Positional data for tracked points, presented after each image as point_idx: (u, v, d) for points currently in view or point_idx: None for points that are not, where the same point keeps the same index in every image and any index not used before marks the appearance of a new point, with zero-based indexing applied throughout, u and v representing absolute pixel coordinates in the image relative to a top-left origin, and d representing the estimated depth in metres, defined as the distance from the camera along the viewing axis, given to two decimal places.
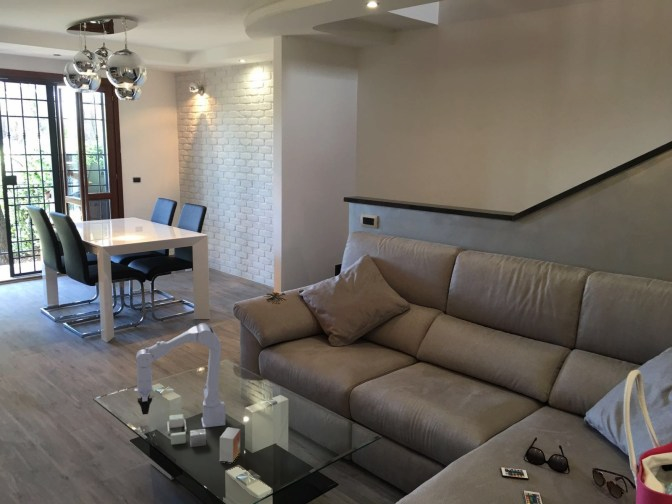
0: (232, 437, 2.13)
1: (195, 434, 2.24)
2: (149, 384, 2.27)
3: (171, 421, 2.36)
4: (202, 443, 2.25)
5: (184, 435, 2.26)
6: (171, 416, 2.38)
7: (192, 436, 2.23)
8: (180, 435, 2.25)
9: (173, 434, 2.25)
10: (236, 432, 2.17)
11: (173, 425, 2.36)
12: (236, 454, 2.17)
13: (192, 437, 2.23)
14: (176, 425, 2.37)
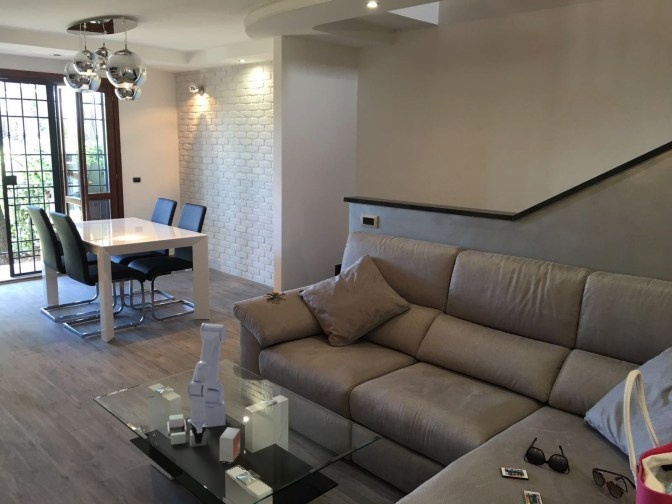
0: (232, 437, 2.13)
1: None
2: (203, 415, 2.22)
3: (171, 421, 2.36)
4: (202, 443, 2.25)
5: (184, 435, 2.26)
6: (171, 416, 2.38)
7: (192, 436, 2.23)
8: (180, 435, 2.25)
9: (173, 434, 2.25)
10: (236, 432, 2.17)
11: (173, 425, 2.36)
12: (236, 454, 2.17)
13: (192, 437, 2.23)
14: (176, 425, 2.37)
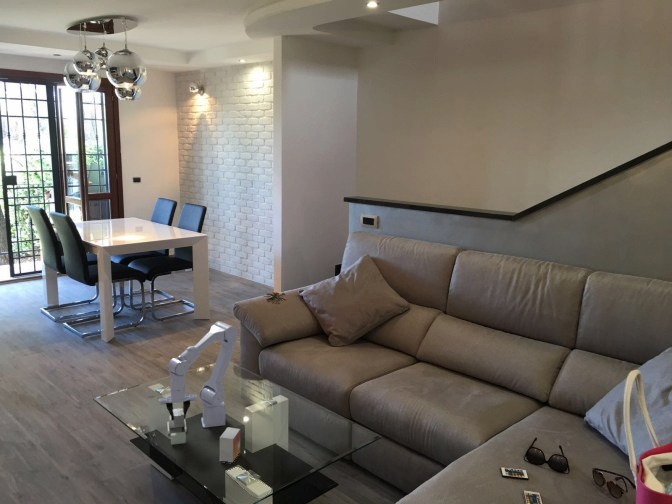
0: (232, 437, 2.13)
1: (174, 411, 2.28)
2: (172, 394, 2.23)
3: (171, 421, 2.36)
4: (173, 423, 2.26)
5: (184, 435, 2.26)
6: None
7: None
8: (180, 435, 2.25)
9: (173, 434, 2.25)
10: (236, 432, 2.17)
11: (173, 425, 2.36)
12: (236, 454, 2.17)
13: None
14: None
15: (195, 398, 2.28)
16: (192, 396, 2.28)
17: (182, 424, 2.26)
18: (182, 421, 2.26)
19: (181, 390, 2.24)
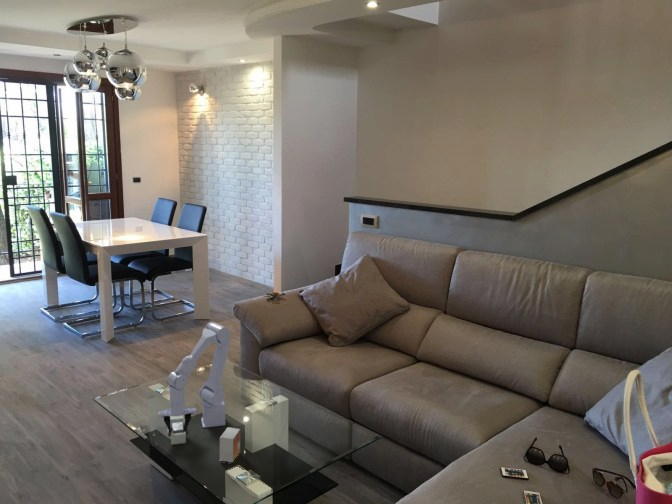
0: (232, 437, 2.13)
1: (173, 425, 2.30)
2: (172, 407, 2.25)
3: (171, 421, 2.36)
4: None
5: (184, 435, 2.26)
6: (171, 416, 2.38)
7: (172, 424, 2.31)
8: (180, 435, 2.25)
9: (173, 434, 2.25)
10: (236, 432, 2.17)
11: None
12: (236, 454, 2.17)
13: (172, 425, 2.31)
14: None
15: (194, 412, 2.29)
16: (191, 409, 2.30)
17: None
18: None
19: (180, 404, 2.25)
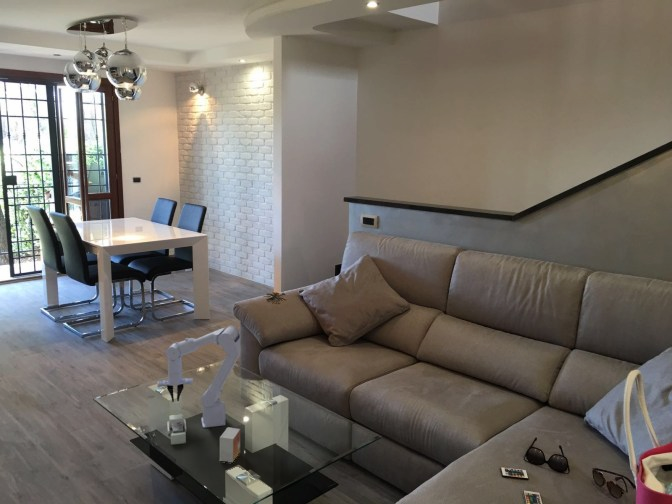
0: (232, 437, 2.13)
1: (174, 425, 2.30)
2: (170, 377, 2.38)
3: (171, 421, 2.36)
4: None
5: (184, 435, 2.26)
6: (171, 416, 2.38)
7: (172, 424, 2.31)
8: (180, 435, 2.25)
9: (173, 434, 2.25)
10: (236, 432, 2.17)
11: None
12: (236, 454, 2.17)
13: (172, 425, 2.31)
14: None
15: (191, 381, 2.42)
16: (188, 380, 2.43)
17: None
18: None
19: (178, 373, 2.38)
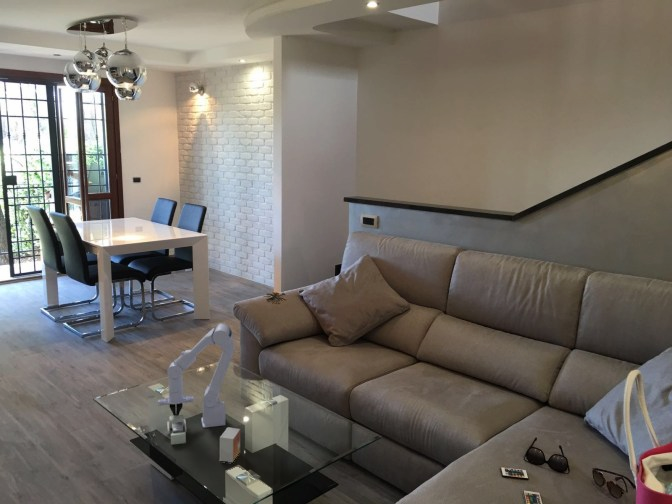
0: (232, 437, 2.13)
1: (173, 425, 2.30)
2: (170, 395, 2.36)
3: (171, 422, 2.35)
4: None
5: (184, 435, 2.26)
6: (171, 417, 2.37)
7: (172, 424, 2.31)
8: (180, 435, 2.25)
9: (173, 434, 2.25)
10: (236, 432, 2.17)
11: None
12: (236, 454, 2.17)
13: (172, 425, 2.31)
14: None
15: (192, 400, 2.40)
16: (189, 398, 2.41)
17: None
18: None
19: (178, 392, 2.36)
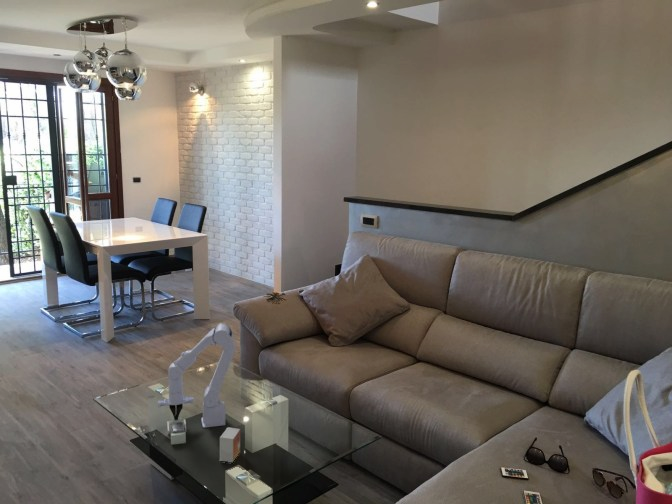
0: (232, 437, 2.13)
1: (174, 425, 2.30)
2: (170, 396, 2.35)
3: None
4: None
5: (184, 435, 2.26)
6: (172, 421, 2.34)
7: (172, 425, 2.31)
8: (180, 435, 2.25)
9: (173, 434, 2.25)
10: (236, 432, 2.17)
11: None
12: (236, 454, 2.17)
13: (172, 426, 2.31)
14: None
15: (192, 401, 2.40)
16: (189, 399, 2.40)
17: None
18: None
19: (178, 393, 2.35)
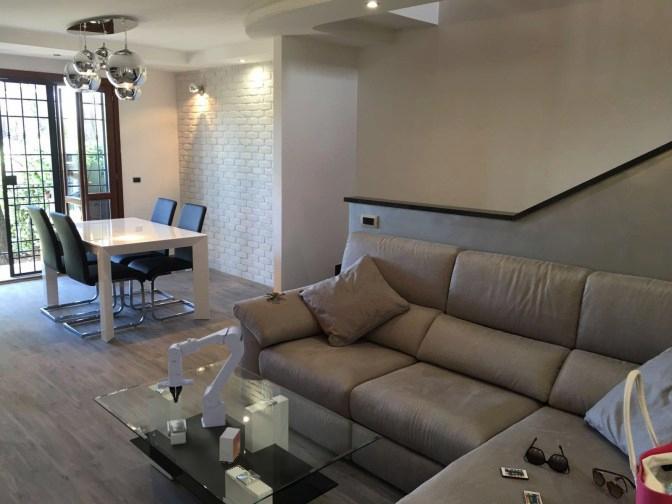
0: (232, 437, 2.13)
1: (174, 425, 2.30)
2: (170, 378, 2.35)
3: None
4: None
5: (184, 435, 2.26)
6: (172, 421, 2.34)
7: (172, 425, 2.31)
8: (180, 435, 2.25)
9: (173, 434, 2.25)
10: (236, 432, 2.17)
11: None
12: (236, 454, 2.17)
13: (172, 426, 2.31)
14: None
15: (192, 383, 2.39)
16: (189, 381, 2.39)
17: None
18: None
19: (178, 374, 2.35)
